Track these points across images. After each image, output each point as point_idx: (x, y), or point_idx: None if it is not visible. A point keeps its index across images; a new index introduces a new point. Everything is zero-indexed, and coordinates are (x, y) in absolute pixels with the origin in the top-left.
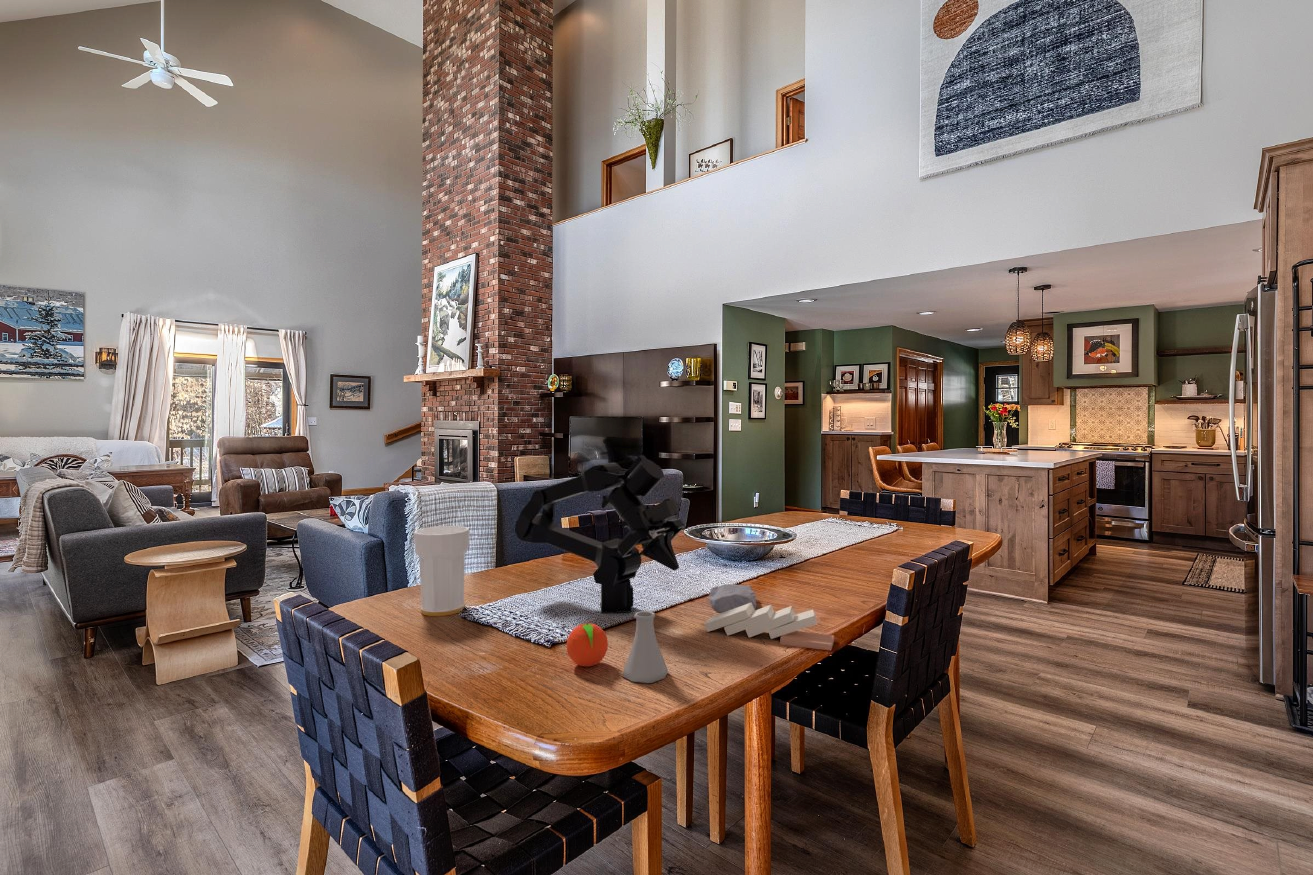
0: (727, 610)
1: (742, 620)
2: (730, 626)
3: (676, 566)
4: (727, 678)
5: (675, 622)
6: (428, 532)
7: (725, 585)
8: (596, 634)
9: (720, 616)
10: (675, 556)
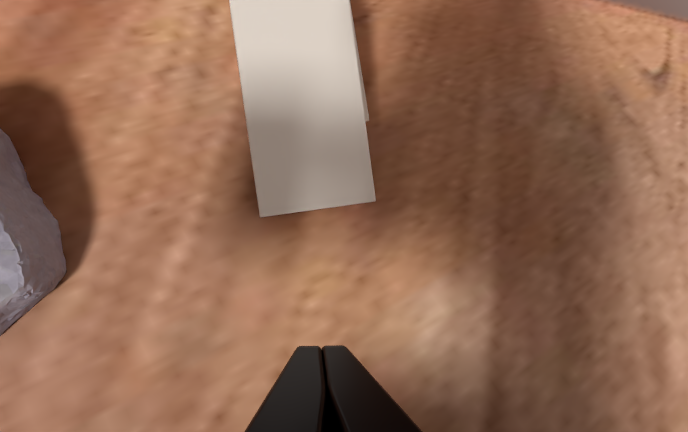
0: (54, 228)
1: None
2: (363, 94)
3: (349, 353)
4: (637, 29)
5: None
6: None
7: None
8: None
9: (322, 136)
10: (254, 424)
